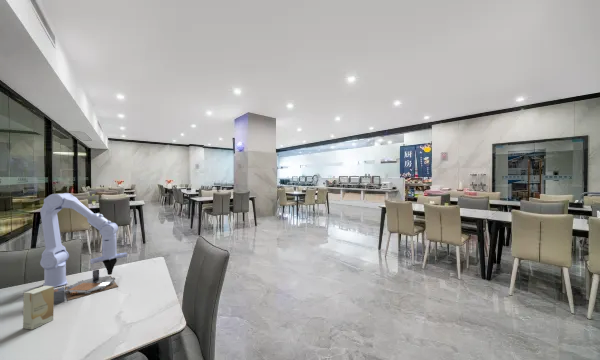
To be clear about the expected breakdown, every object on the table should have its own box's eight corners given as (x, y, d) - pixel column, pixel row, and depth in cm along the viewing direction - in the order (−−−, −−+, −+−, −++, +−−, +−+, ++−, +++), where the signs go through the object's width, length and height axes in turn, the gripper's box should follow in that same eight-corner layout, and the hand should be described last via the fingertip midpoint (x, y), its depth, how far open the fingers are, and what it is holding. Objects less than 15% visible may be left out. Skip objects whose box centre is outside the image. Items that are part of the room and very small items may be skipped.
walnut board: (65, 287, 112) (65, 286, 112) (110, 276, 125) (110, 275, 125) (67, 300, 100) (67, 299, 100) (118, 286, 113) (118, 286, 113)
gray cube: (43, 304, 97) (43, 291, 97) (64, 298, 102) (63, 286, 102) (43, 307, 95) (43, 295, 95) (64, 302, 99) (64, 289, 99)
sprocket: (64, 286, 112) (63, 274, 112) (111, 275, 125) (111, 264, 125) (66, 299, 100) (66, 286, 100) (118, 285, 113) (118, 273, 113)
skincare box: (31, 330, 80) (31, 294, 80) (22, 328, 81) (21, 293, 81) (55, 319, 87) (54, 285, 87) (45, 317, 88) (45, 284, 87)
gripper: (91, 252, 113) (92, 280, 113) (128, 245, 124) (128, 272, 124) (89, 249, 118) (90, 276, 118) (125, 243, 128) (125, 268, 128)
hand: (109, 274), depth 121 cm, fingers closed
